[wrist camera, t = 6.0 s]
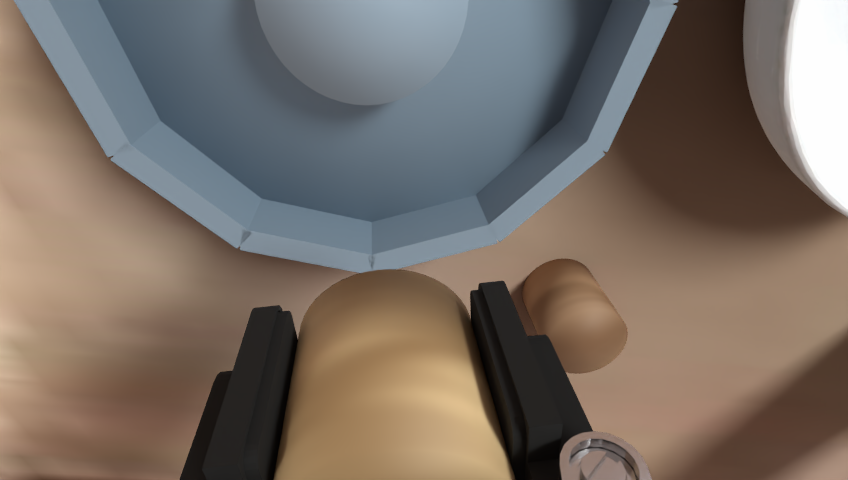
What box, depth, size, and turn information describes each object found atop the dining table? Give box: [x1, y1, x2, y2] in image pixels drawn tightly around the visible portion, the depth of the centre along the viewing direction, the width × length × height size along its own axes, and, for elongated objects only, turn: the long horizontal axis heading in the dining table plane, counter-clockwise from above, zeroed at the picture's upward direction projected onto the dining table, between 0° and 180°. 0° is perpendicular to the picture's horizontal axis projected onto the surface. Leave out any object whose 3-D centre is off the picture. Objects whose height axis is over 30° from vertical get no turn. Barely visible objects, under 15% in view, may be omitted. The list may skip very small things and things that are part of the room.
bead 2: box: [522, 259, 628, 373], centre depth 26 cm, size 4×4×4 cm
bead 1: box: [273, 269, 516, 480], centre depth 10 cm, size 4×4×4 cm
